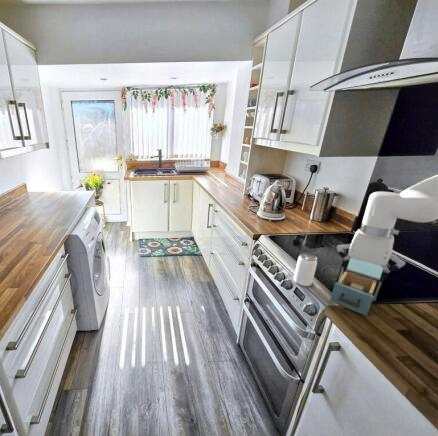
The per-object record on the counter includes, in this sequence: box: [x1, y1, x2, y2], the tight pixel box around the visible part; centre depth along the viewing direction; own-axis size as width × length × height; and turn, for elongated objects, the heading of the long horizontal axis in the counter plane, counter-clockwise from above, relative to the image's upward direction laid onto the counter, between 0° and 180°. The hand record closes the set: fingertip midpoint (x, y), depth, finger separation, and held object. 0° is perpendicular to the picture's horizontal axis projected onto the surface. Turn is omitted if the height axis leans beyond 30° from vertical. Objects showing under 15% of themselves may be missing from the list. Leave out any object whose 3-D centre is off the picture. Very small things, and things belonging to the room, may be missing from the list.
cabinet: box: [337, 258, 383, 303], centre depth 93 cm, size 13×11×9 cm
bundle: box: [350, 283, 364, 291], centre depth 86 cm, size 7×4×3 cm, turn 131°
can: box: [293, 252, 318, 287], centre depth 96 cm, size 6×6×12 cm
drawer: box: [329, 271, 377, 317], centre depth 84 cm, size 17×10×8 cm, turn 131°
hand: (362, 274), depth 83 cm, fingers open, 9 cm apart
